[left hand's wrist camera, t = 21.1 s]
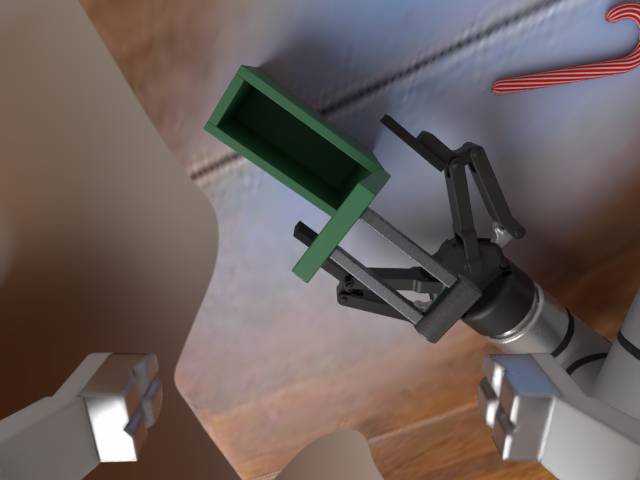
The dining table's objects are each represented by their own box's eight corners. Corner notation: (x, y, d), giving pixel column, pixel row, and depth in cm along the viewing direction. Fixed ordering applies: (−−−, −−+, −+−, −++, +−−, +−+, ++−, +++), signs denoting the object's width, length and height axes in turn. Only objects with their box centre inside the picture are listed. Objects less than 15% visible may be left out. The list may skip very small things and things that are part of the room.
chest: (226, 118, 42) (202, 129, 34) (257, 67, 41) (241, 64, 32) (338, 197, 45) (343, 225, 37) (372, 152, 44) (385, 170, 35)
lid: (290, 271, 22) (425, 377, 22) (359, 181, 20) (506, 295, 20) (338, 223, 36) (420, 287, 36) (381, 167, 35) (467, 234, 34)
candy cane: (486, 29, 39) (492, 28, 38) (654, -3, 38) (666, -7, 37) (489, 97, 42) (495, 97, 40) (648, 67, 41) (659, 67, 39)
